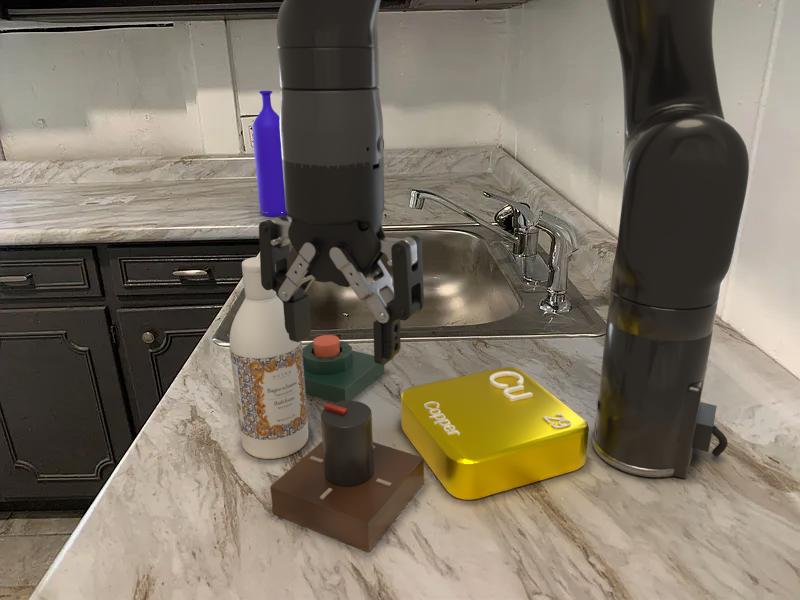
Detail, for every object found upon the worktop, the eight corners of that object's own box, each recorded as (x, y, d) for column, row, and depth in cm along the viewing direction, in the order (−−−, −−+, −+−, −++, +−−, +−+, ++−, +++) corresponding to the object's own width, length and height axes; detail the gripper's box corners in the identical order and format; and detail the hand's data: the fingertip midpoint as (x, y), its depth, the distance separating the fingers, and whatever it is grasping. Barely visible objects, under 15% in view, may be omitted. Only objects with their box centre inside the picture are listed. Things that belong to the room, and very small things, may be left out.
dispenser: (384, 373, 81) (383, 344, 79) (345, 405, 73) (343, 375, 72) (314, 355, 86) (312, 328, 84) (271, 384, 78) (268, 355, 77)
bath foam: (257, 470, 62) (234, 278, 55) (232, 437, 68) (209, 258, 60) (320, 446, 66) (307, 263, 58) (292, 417, 71) (277, 246, 64)
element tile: (395, 423, 70) (394, 384, 68) (513, 395, 75) (515, 359, 73) (456, 507, 57) (457, 462, 55) (594, 466, 62) (599, 424, 60)
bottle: (277, 208, 168) (266, 89, 157) (299, 212, 163) (290, 90, 152) (253, 214, 162) (240, 91, 151) (276, 218, 157) (264, 92, 146)
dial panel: (424, 484, 60) (424, 455, 59) (368, 553, 52) (367, 521, 50) (336, 455, 64) (334, 428, 63) (272, 514, 56) (269, 484, 55)
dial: (382, 464, 58) (380, 404, 55) (356, 492, 54) (353, 429, 52) (342, 451, 60) (339, 393, 57) (314, 477, 56) (310, 416, 54)
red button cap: (345, 350, 79) (344, 337, 78) (330, 360, 76) (329, 347, 75) (324, 345, 80) (323, 332, 79) (308, 355, 78) (307, 342, 77)
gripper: (225, 152, 47) (245, 348, 53) (390, 167, 41) (392, 389, 47) (289, 140, 53) (301, 317, 59) (441, 152, 47) (437, 350, 53)
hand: (341, 349), depth 53 cm, fingers open, 8 cm apart
